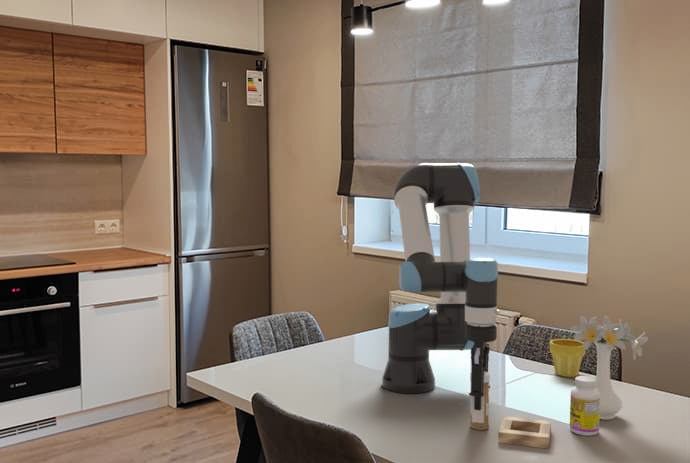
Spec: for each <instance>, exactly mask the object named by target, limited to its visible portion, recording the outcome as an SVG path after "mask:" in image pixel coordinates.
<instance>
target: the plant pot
mask: <svg viewBox="0 0 690 463" xmlns="http://www.w3.org/2000/svg"><path fill="white" fill-rule="evenodd" d="M583 343H584V341H576V340H574V339H569V338H556V339H551V340H550V341H549V352H550V353H551V355H552V356H551V357H552V361H553V366H554V373H555V375H558V376H560V377H566V378H576V377H578V376H579V372H580V368H581V364H582V360H583V357H584V356H585V355H586V350H585V349H584V348H583Z"/></svg>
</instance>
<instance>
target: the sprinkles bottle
mask: <svg viewBox="0 0 690 463" xmlns="http://www.w3.org/2000/svg"><path fill="white" fill-rule="evenodd" d="M490 377H491V376H490V372H489V371H488V372H485V371H484V388H483V393H484V423H476V422H472V396H470V424H469V425H470V428H472V429H474V430H476V431H483V430H484V431H485V430H488V429H489V428H490V427H489V426H490V424H489V414H490V408H489V407H490V396H489V395H490V394H489V392H490V388H489V385H490V381H491V380H490V379H491V378H490ZM469 378H470V381H471V373H470V376H469Z"/></svg>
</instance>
